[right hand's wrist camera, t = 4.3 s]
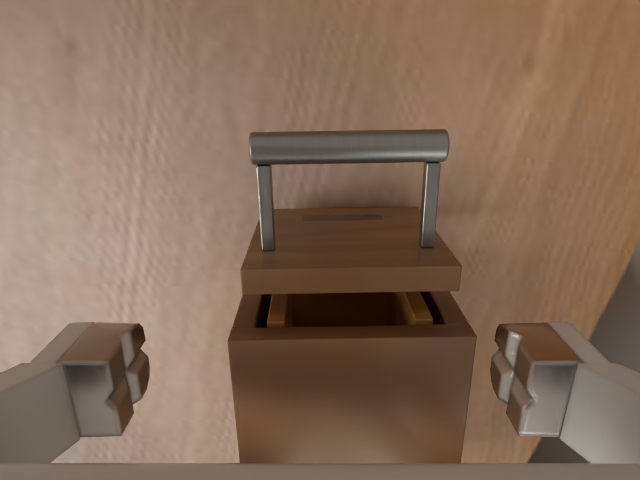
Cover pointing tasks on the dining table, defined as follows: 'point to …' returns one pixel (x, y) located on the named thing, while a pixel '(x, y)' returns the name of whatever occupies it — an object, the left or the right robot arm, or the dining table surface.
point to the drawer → (348, 236)
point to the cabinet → (351, 388)
